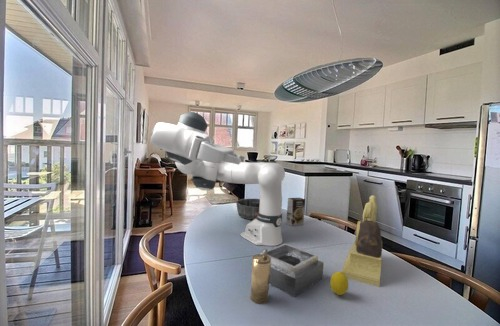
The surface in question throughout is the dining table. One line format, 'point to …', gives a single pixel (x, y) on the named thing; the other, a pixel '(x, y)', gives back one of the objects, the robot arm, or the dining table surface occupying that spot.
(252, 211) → the bundt pan
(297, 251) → the housing
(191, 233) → the dining table surface
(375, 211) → the decorative clock
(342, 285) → the lemon
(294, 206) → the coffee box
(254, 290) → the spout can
